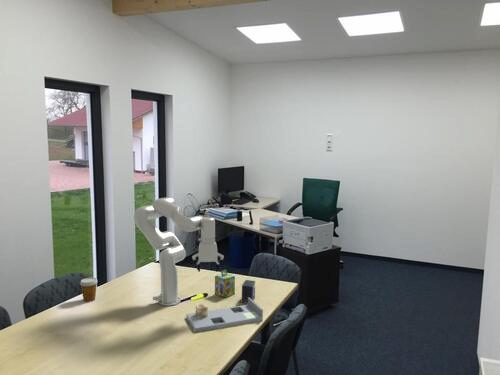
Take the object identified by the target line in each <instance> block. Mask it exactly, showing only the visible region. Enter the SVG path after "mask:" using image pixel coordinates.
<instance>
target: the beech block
mask: <svg viewBox="0 0 500 375" xmlns="http://www.w3.org/2000/svg"><path fill="white" fill-rule="evenodd" d="M208 311H209V309H208V306H207V304H206V303H200V304H195V313H196V315H197V317H198V318H201V317H208Z"/></svg>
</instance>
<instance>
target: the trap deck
mask: <svg viewBox="0 0 500 375" xmlns="http://www.w3.org/2000/svg"><path fill="white" fill-rule="evenodd" d="M263 311H264V309H263V308H262V307H260V305H259V304H257V303H256V302H255V301H254V300H252V299H251V298H248V303H247V304H244V305H236V306H231V307H224V308H217V309H211V310H208V317H201V318H198V317H197V315H196V312H191V313H186V314H185V315H186V316H185V317H186V319H187V321H188V323H189V325H190V326H191V328H192V329H193V331H194V332H195V333H200V332H204V331H209V330H211V331H212V330H216V329H222V328H228V327H234V326H239V325H240V326H241V325H245V324H251V323H256V322H257V323H258V322H261V321H262V322H263V319H264V318H263V316H264V314H263V313H264V312H263Z"/></svg>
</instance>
